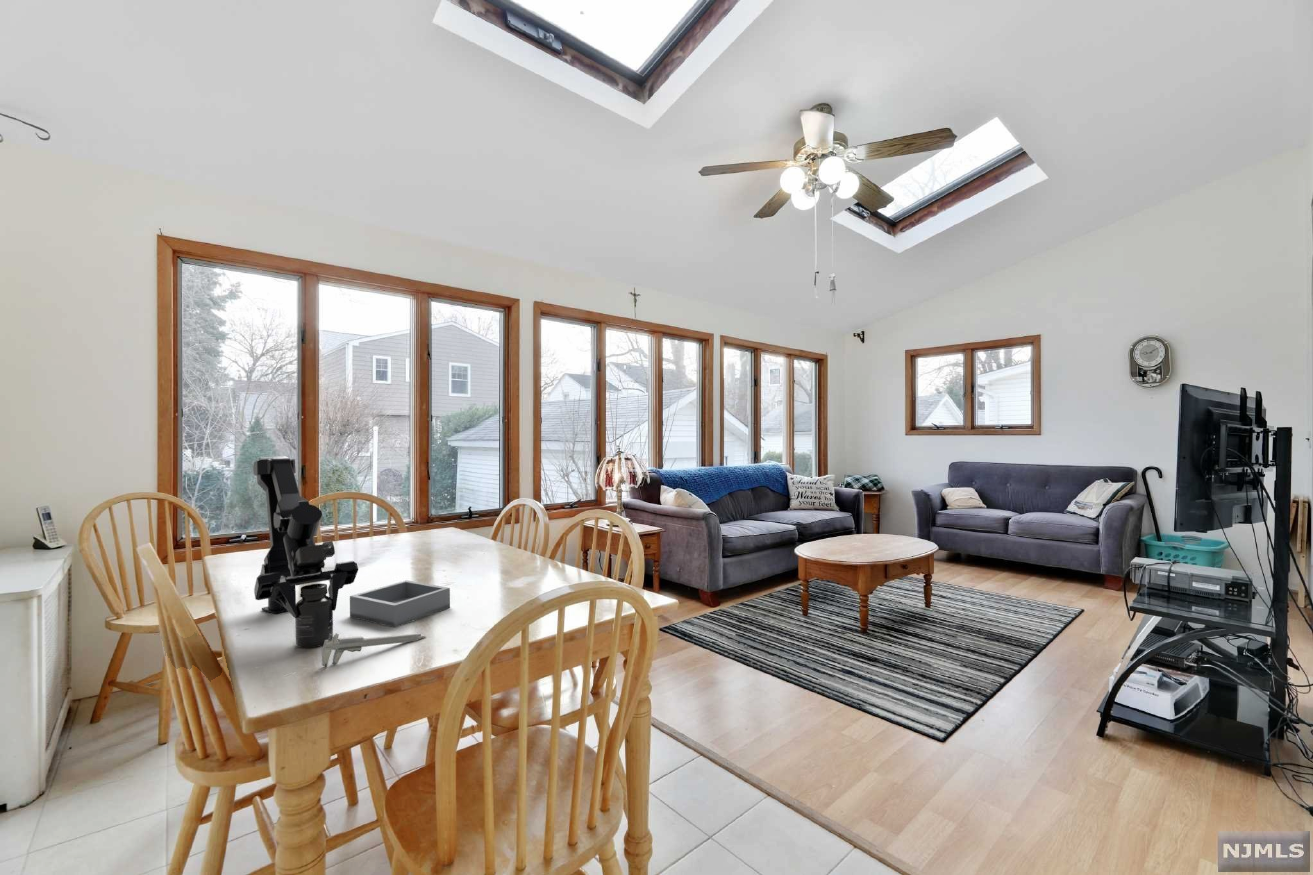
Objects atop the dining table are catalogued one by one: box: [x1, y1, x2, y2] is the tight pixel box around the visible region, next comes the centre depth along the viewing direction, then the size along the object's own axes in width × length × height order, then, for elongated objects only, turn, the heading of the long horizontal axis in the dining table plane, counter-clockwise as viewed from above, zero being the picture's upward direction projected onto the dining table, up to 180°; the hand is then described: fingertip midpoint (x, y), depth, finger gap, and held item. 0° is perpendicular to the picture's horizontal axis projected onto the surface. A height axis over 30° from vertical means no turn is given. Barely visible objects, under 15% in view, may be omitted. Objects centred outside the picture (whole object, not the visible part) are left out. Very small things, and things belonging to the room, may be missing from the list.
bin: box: [349, 579, 451, 628], centre depth 140 cm, size 16×16×5 cm
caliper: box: [321, 632, 427, 668], centre depth 116 cm, size 20×1×6 cm, turn 141°
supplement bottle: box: [294, 583, 334, 649], centre depth 120 cm, size 7×7×12 cm
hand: (315, 613), depth 119 cm, fingers closed on supplement bottle, 7 cm apart
